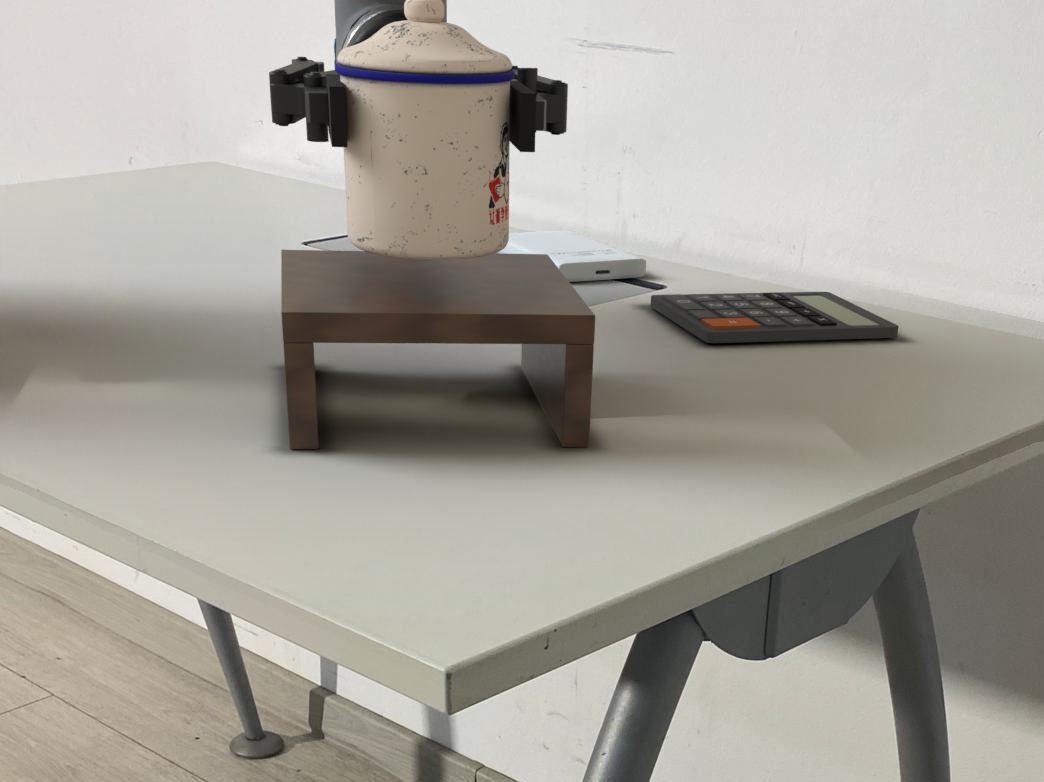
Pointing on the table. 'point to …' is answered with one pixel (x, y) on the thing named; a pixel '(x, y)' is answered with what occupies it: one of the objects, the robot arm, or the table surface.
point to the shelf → (439, 322)
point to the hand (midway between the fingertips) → (434, 120)
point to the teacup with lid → (426, 140)
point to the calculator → (771, 317)
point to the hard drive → (577, 255)
